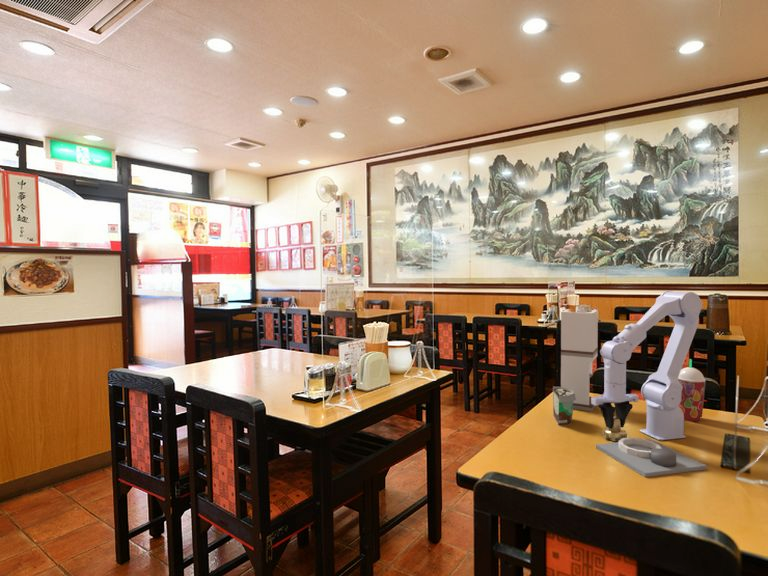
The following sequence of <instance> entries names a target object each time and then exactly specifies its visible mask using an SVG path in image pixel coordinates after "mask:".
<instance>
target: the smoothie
mask: <svg viewBox="0 0 768 576" xmlns="http://www.w3.org/2000/svg"><path fill="white" fill-rule="evenodd" d="M692 363H693V360H692V359H691V358H689V363H688V364H689V365H688V366H687V367H682V369H681V371H680V374H679V376H678V381H679V382H680V384H681V385H682V387H683V389H682V392H681V402H680V404H679V405H678V407H679V408H680V409H681V410H682V412H683V415H684V421H689V422H699V421H700V420H701V418H702V417H703V410H704V401H705V400H704V399H705V390H706V380H707V379H706V378H705V376H704V374H703V373H702V372H701V371H700V370H699V369H697V368H695V367H692V366H693V364H692Z"/></svg>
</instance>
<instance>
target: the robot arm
mask: <svg viewBox="0 0 768 576" xmlns="http://www.w3.org/2000/svg"><path fill="white" fill-rule="evenodd" d="M703 305H704V304H703V302H702V300H701V298H700V296H699V295H698V294H697V293H695V292H693V291H688V292H686V291H674V290H665V291H663V292H662V293H661V294H660V295H659V296H658V297H656V298H655V303H654V304H653V305H652V306H651V307H650V308H649V309H648V310H647V311H646V312H645V314H643V315H642V317H641V318H640V319H639V320H638V321H637V322H636V323H629V324H626V325H625V326H624V327H623V328H624V329H623V330H621V331H620V333H618V334H617V335H616V336H614V337H613V338H612V340H608V341H605V342H604V343H603V344H602V346H601V349H600V350H599V354H600V356H601V357H602V359H603V363H604V364H603V365H604V366H603V367H604V371H603V372H604V373H603V374H604V375H603V377H604V378H603V379H604V380H603V382H604V385H603V386H604V391H603V393H602V394H601V395H598V396H590V397H591V404H593V405H595V407H596V406H597V407H598V408H599V410H600V412H601V414H602V416H603V420H604V424H605V428H607V427H608V428H610V429H612V428H613V418H614V416H617V417H620V418H621V428H624V427H625V424H626V420H627V418H628V415H629V414H630V412H631V411H632V409H633V403H632V402H634V403H639V395H638V394H635V393H627V390H626V389H627V361H630V359H631V357H632V354H633V351H634V349H635V348H637V347H638V346H639V345H640V344H641V343H642V342H643V341H644V340H645V339H646V338H647V332H648V331H649V330H650V329H651V328H652V327H654V326H655V325H657V323H658V322H660V321H661V320H662V319H664V318H665V317H666V316H669V317H670V318H671V319H672V321H673V323H674V326H673V329H672V332H671V335H670V337H669V339H668V341H667V342H668V343H667V345H666V348H665V350H664V353H663V355H662V358H661V361H660V363H659V366H658V368H657V371H655V372H654V373H651V374H649V376H648V378H647V379H646V381H645V382H644V383H643V384H642V386H641V389H640V394H641V396H642V398H643V399H644V402H645V404H646V418H645V419H646V423H645V424H646V426H645V427H646V428H642V429H639V432H640V433H643V434H645V435H646V436H649V437H651V438H653V439H655V440H657V441H666V440H676V439H685V438H687V436H686V434H685V435H684V429H685V427H684V426H685V425H684V424H685V422H684V421H685V420H684V415H683V412H682V410H681V409H680V408H679V407H678V405H679V404H680V402H681V392H682V389H683V387H682V385H681V384H680V382H679V381H678V376H679V374H680V371H681V369H683V365H684V363H685V360H686V357H687V355H688V354H689V350H690V347H691V345H692V341H693V339H694V337H695V334H696V332H697V328H698V327H699V320H700V318H699V316H700V313H701V311H702V309H703ZM630 402H631V403H630ZM613 404H614V406H613Z"/></svg>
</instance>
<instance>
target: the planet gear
mask: <svg viewBox="0 0 768 576" xmlns="http://www.w3.org/2000/svg"><path fill="white" fill-rule="evenodd" d="M601 435H602V436H603V438H604V439H606V440H610V441H613V442H619V440H620V439H622V438H628V432H626V430H624V429H622V427H621V418H620V417H617V416H616V415H614V418H613V428H612V429H610V428H608V427H605V428H602V434H601Z"/></svg>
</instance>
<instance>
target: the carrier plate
mask: <svg viewBox="0 0 768 576" xmlns="http://www.w3.org/2000/svg"><path fill="white" fill-rule="evenodd" d="M595 448H596V449H597V450H598V451H600V452H602V453H604V454H606V455H607V456H609V457H610V456H611V458H612V459H614V460H615V459H616V461H618V462H619V463H620V462H621V463H620V464H622V465H623V466H625V465H626V466H625V467H627V468H629V469H630V470H632V471H633V472H636V473H637V474H639V475H640V476H643V478H648V477H657V476H664V475H672V474H679V473H680V474H681V473H688V472H694V471H695V472H697V471H704V470H707V469H708V468H707V467H708V466H707V465H706V464H704V463H703V462H701V461H698V460H696V459H694V458H692V457H690V456H688V455H685V454H684V453H681V452H679V451H678V450H676V449H673V448H671V447H669V446H668V445H667V446H666V445H664V444H662V443H660V442H658V441H656V440H654V439H652V438H646V439H644V438H641V437H640V438H639V437H627V438H622V439H620V440H619V441H615V442H607V443H599V444H596V445H595Z"/></svg>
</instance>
